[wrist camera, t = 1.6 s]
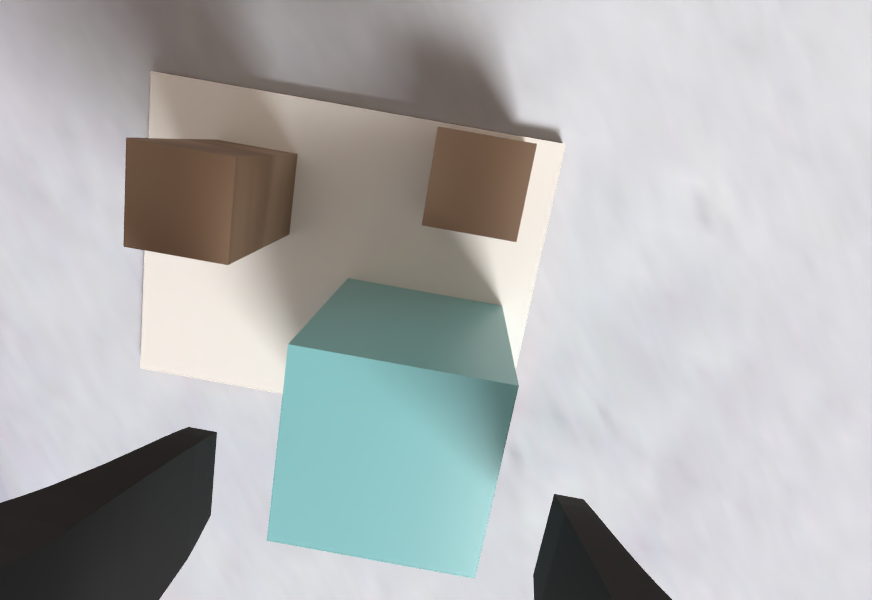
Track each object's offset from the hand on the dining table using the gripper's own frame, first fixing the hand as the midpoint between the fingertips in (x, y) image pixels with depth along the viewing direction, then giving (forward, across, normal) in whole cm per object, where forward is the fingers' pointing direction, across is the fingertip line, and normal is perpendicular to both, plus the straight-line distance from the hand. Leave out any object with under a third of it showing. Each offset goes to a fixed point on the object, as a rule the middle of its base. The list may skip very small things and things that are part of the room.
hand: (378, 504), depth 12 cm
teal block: (+8, 0, 0) cm, 8 cm away
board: (+9, +3, -3) cm, 10 cm away
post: (+8, +6, -5) cm, 11 cm away
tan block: (+8, -1, -6) cm, 10 cm away
